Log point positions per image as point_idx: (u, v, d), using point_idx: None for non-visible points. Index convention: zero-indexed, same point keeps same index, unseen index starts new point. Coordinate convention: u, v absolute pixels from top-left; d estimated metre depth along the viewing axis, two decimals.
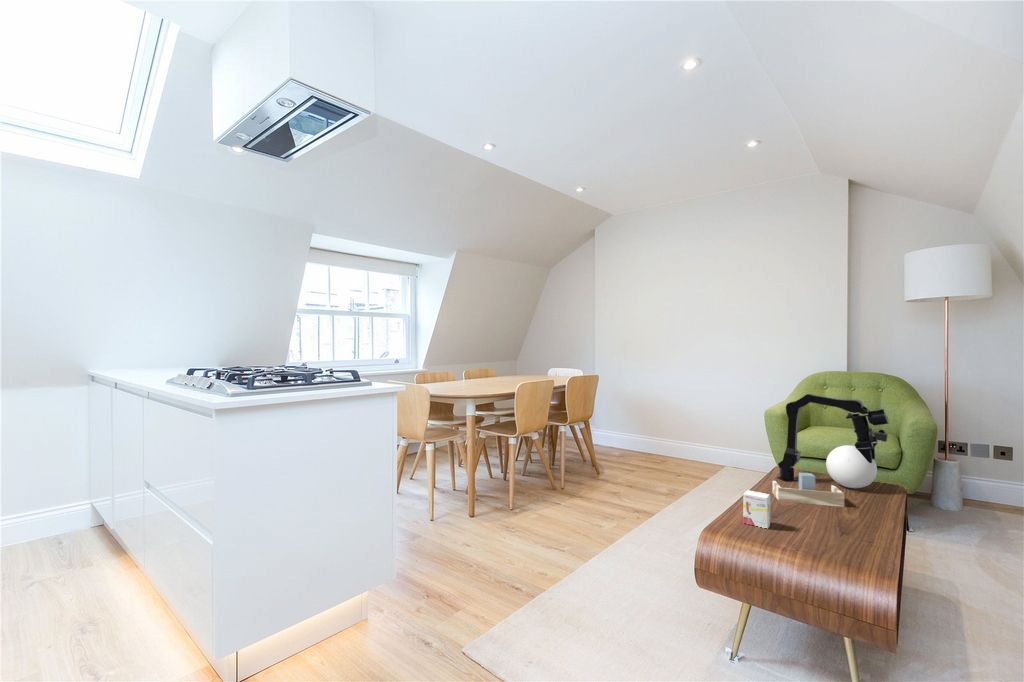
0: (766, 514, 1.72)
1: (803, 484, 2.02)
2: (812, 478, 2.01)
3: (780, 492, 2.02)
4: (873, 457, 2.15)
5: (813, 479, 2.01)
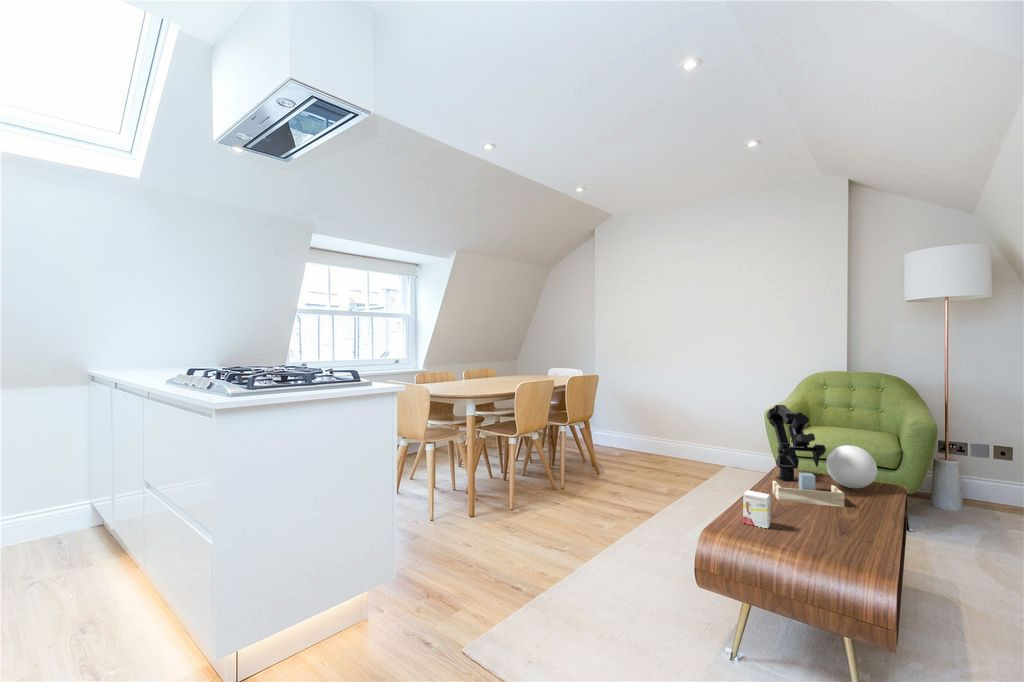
0: (766, 514, 1.72)
1: (803, 484, 2.02)
2: (812, 478, 2.01)
3: (780, 492, 2.02)
4: (816, 464, 2.10)
5: (813, 479, 2.01)
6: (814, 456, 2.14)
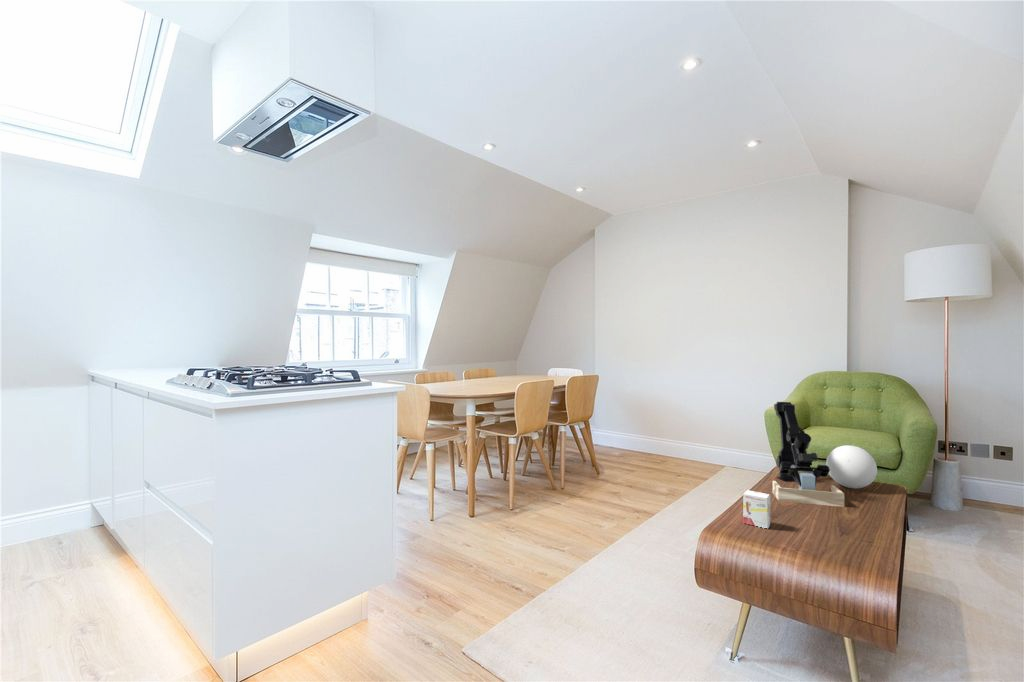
0: (766, 514, 1.72)
1: (803, 484, 2.02)
2: (812, 478, 2.01)
3: (780, 492, 2.02)
4: None
5: (813, 479, 2.01)
6: None
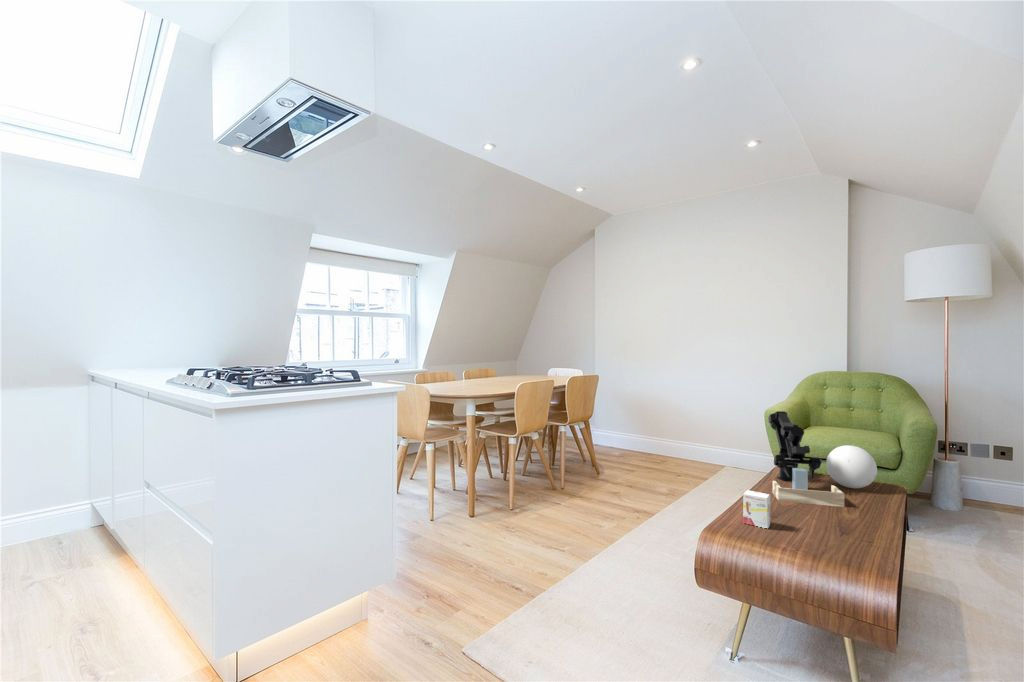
0: (766, 514, 1.72)
1: (796, 479, 2.12)
2: (805, 473, 2.11)
3: (780, 492, 2.02)
4: (811, 476, 2.12)
5: (806, 474, 2.11)
6: (810, 468, 2.15)
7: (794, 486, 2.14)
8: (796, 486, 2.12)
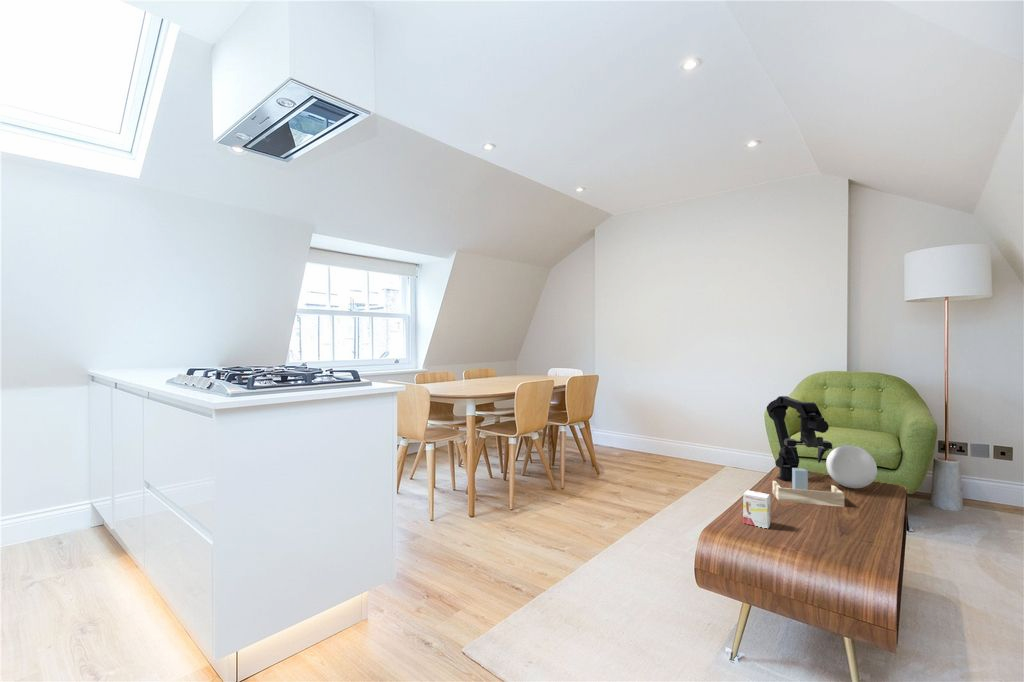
0: (766, 514, 1.72)
1: (796, 479, 2.12)
2: (805, 473, 2.11)
3: (780, 492, 2.02)
4: (818, 460, 2.19)
5: (806, 474, 2.11)
6: (819, 450, 2.19)
7: (794, 486, 2.14)
8: (796, 486, 2.12)
